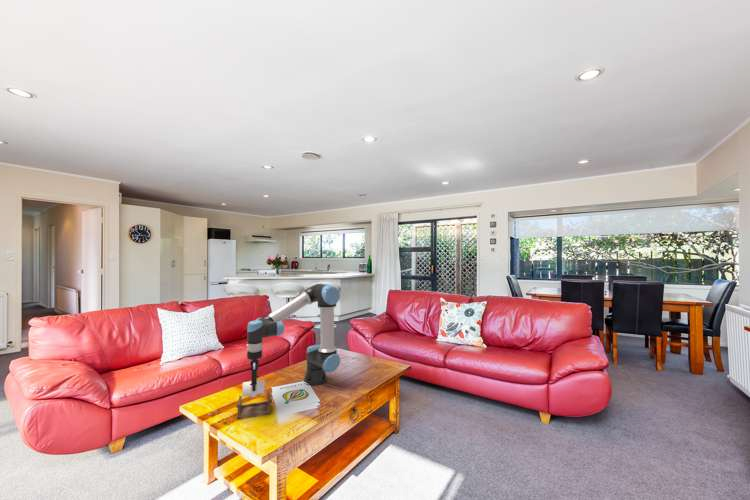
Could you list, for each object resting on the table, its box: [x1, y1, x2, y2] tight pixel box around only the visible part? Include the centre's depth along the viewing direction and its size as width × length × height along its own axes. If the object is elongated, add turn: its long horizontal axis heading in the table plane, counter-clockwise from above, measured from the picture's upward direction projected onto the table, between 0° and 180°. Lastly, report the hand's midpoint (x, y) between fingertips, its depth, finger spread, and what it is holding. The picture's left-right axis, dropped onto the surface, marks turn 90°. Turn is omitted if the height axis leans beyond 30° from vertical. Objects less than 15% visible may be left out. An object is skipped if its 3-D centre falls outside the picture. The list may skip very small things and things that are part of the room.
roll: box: [241, 379, 266, 398], centre depth 168 cm, size 11×7×7 cm, turn 109°
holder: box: [235, 392, 273, 420], centre depth 169 cm, size 18×11×7 cm, turn 109°
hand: (254, 393), depth 169 cm, fingers closed on roll, 7 cm apart
